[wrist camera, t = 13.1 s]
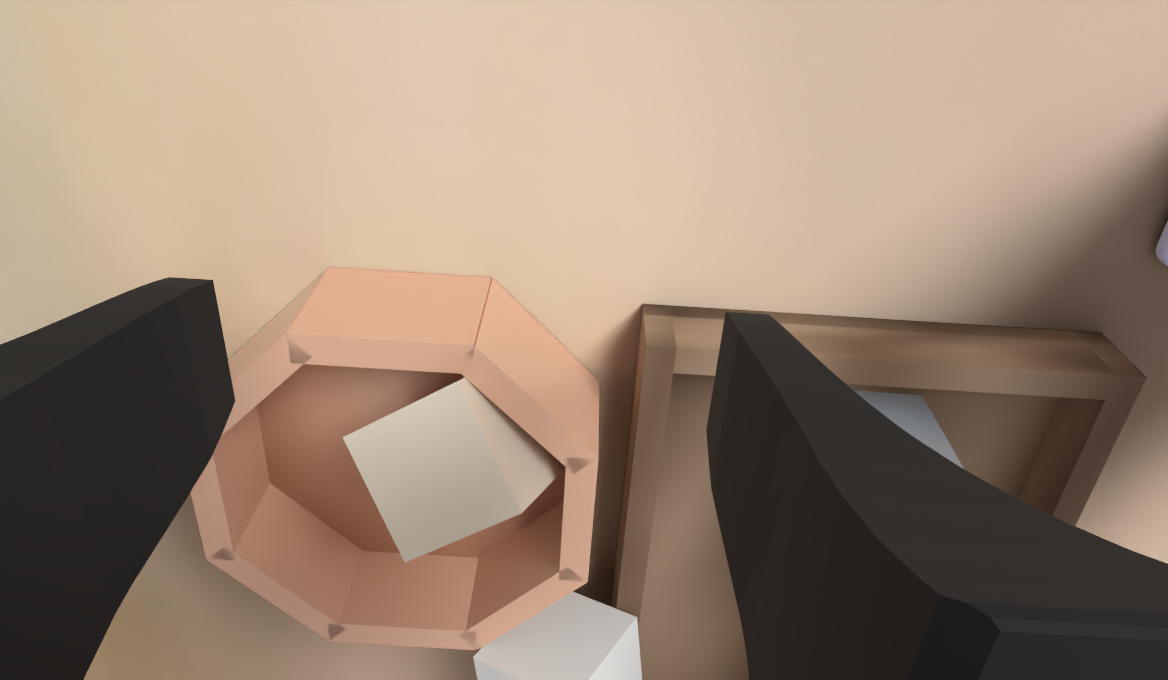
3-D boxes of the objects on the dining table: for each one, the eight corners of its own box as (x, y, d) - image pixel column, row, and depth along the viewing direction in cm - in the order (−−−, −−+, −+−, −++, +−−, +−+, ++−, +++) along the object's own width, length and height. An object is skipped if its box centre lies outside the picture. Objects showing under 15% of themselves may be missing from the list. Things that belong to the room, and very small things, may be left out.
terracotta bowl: (607, 284, 22) (607, 353, 19) (584, 568, 28) (581, 656, 25) (212, 260, 22) (151, 325, 19) (265, 549, 28) (223, 635, 25)
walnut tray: (1101, 333, 23) (1146, 376, 21) (943, 697, 31) (965, 754, 29) (642, 304, 23) (646, 345, 21) (602, 678, 31) (602, 733, 29)
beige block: (565, 467, 23) (510, 355, 23) (521, 513, 19) (456, 381, 19) (463, 512, 24) (410, 404, 24) (404, 562, 20) (342, 437, 20)
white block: (569, 703, 22) (581, 788, 24) (637, 617, 25) (643, 698, 27) (473, 657, 24) (489, 738, 26) (545, 580, 27) (556, 658, 28)
